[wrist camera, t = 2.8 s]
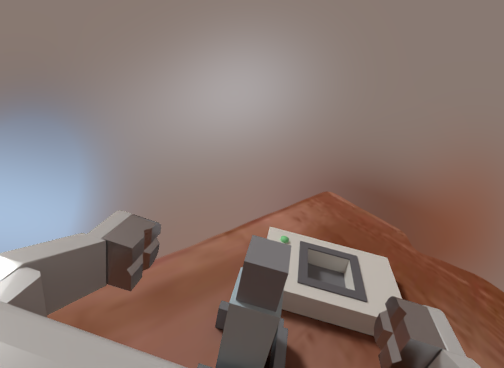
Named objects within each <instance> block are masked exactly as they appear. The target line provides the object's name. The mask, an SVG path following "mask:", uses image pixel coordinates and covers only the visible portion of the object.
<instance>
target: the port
mask: <svg viewBox="0 0 504 368" xmlns="http://www.w3.org/2000/svg"><path fill="white" fill-rule="evenodd" d="M267 239H269V240H273V241H277V242H280V243H284V244H288V245H291V255H290V264H289V273H288V277H287V280H286V283H285V286H284V293H283V302H282V309H283V310H286V311H290V312H293V313H297V314H300V315H303V316H307V317H310V318H314V319H317V320H321V321H324V322H327V323H331V324H334V325H338V326H341V327H344V328H348V329H351V330H355V331H358V332H362V333H365V334H368V335H372V336H374V325H375V320H376V318H377V317H378V315H379V313H381V312H383V311H386V310H387V309H386V305H385V303H386V302H387V300H388V298H390V297H391V296H394V297H398V298H401V299H402V297H401V294H400V291H399V289H398V286H397V283H396V281H395V278H394V275H393V273H392V270H391V267H390V264H389V262H388V259H387V258H386V257H382V256H378V255H375V254H371V253H367V252H363V251H360V250H356V249H352V248H348V247H344V246H341V245H337V244H333V243H329V242H326V241H322V240H318V239H314V238H311V237H307V236H303V235H299V234H296V233H292V232H288V231H284V230H281V229H277V228H273V227H270V229H269V232H268V236H267Z"/></svg>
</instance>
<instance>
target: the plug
mask: <svg viewBox="0 0 504 368" xmlns="http://www.w3.org/2000/svg"><path fill="white" fill-rule="evenodd" d="M290 255H291V245H288V244H284V243H280V242H277V241H273V240H269V239H266V238H262V237H258V236H255V235H253V236H252V239H251V242H250V245H249V248H248V251H247V254H246V257H245V261H244V265H243V268H242V267H241V269H240V272H239V275H238V278H237V281H236V284H235V287H234V290H233V293H232V296H231V299H230V302H229V307H228V311H227V316H226V321H225V326H224V330H223V335H222V340H221V345H220V349H219V354H218V359H217V364H216V368H264V365H265V363H266V360H267V357H268V354H269V351H270V348H271V345H272V342H273V339H274V336H275V333H276V330H277V327H278V324H279V321H280V318H281V310H282V302H283V293H284V286H285V283H286V280H287V277H288V273H289V264H290Z"/></svg>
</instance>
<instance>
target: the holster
mask: <svg viewBox="0 0 504 368" xmlns="http://www.w3.org/2000/svg"><path fill="white" fill-rule="evenodd" d="M228 307H229V303H228V302H225V301H221V304H220V306H219V310H218V315H217V320H216V326H215V327H216V328H220V329H223V330H224V326H225V321H226V316H227V311H228ZM283 325H284V319H282V318H280V321H279V324H278V327H277V330H276V333H275V336H274V339H273V342H272V349H271V356H270V364H269V368H285V360H286V348H287V336H288V329H287V328H284V327H283ZM197 368H212V367H209V366H206V365H202V364H198V367H197Z"/></svg>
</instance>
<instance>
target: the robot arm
mask: <svg viewBox="0 0 504 368" xmlns="http://www.w3.org/2000/svg"><path fill="white" fill-rule="evenodd" d="M160 230H161V225H160V224H159V223H158V222H155V221H152V220H149V219H146V218H143V217H140V216H137V215H134V214H131V213H128V212H125V211H122V210H121V211H116V212H115V213H114V214H112V215H111V216H110V217H108V218H107V219H106V220H105V221H103V222H102V223H101V224H99V225H98V226H97V227H95V228H94V229H93V230H91V231H90V232H89V233H88V234H84V233H80V234H76V235H72V236H68V237H64V238H60V239H56V240H52V241H48V242H44V243H40V244H36V245H32V246H28V247H24V248H20V249H15V250H11V251H8V252H3V253H0V368H187V367H184V366H181V365H179V364H176V363H173V362H170V361H167V360H165V359H162V358H159V357H156V356H153V355H151V354H148V353H145V352H142V351H139V350H137V349H134V348H131V347H128V346H125V345H122V344H120V343H117V342H114V341H111V340H108V339H106V338H103V337H100V336H97V335H94V334H92V333H89V332H86V331H83V330H80V329H78V328H75V327H72V326H69V325H66V324H64V323H61V322H58V321H55V320H52V319H50V318H47V315H49V314H51V313H53V312H55V311H57V310H59V309H61V308H63V307H64V306H66V305H68V304H70V303H72V302H74V301H76V300H78V299H80V298H82V297H84V296H86V295H88V294H90V293H92V292H94V291H96V290H98V289H100V288H102V287H104V286H106V284H108V285H112V286H115V287H118V288H121V289H125V290H128V291H131V290H132V289H133V288H134V287H135V285H136V284H137V283H138V282H139V280H140V279H141V278H142V271H143V270H146V269H148V268H150V266H151V265H152V264H153V262H154V260H155V258H156V256H157V253H158V250H159V241H158V240H157V238H156V237H157V236H158V235H159V234H160ZM385 305H386V309H387V310H386V311H383V312H381V313H379V315H378V317H377V318H376V320H375V325H374V338H375V343H376V344H377V345H378V346H379V348H380V349H381V350H382V351H381V352H380V354H379V355H378V357H379V361H380V365H381V368H481V367H480V366H479V365H478V364H477V363H476V362H475V361H474V360H473V359H470V358H467V357H466V355H465V353H464V351H463V349H462V347H461V345H460V344H459V342H458V340H457V338H456V336H455V334H454V332H453V330H452V328H451V326H450V324H449V322H448V320H447V318H446V317H445V315H444V313H443V312H442V311H441V310H439V309H436V308H432V307H429V306H425V305H420V304H417V303H414V302H411V301H407V300H404V299H401V298H398V297H394V296H391V297H390V298H388V300H387V302H386V303H385Z"/></svg>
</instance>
